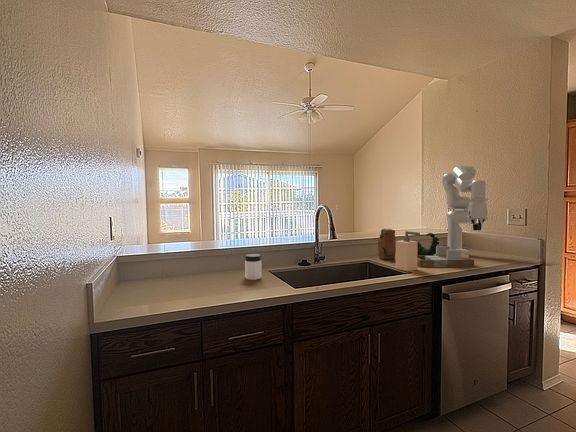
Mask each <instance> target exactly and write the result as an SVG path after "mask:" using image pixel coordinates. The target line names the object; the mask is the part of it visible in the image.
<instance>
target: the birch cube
mask: <svg viewBox="0 0 576 432" xmlns="http://www.w3.org/2000/svg"><path fill="white" fill-rule="evenodd" d="M457 250H461V258H470V257H469V256H470V250H469V249H466V248H462V249H457Z"/></svg>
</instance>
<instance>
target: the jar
mask: <svg viewBox="0 0 576 432" xmlns="http://www.w3.org/2000/svg"><path fill="white" fill-rule="evenodd" d="M262 263H263V262H262V255H261V254H260V253H249V254H245V255H244V277H245V279H246V280H247V281H248V280H251V281H256V280H260V279H262V278H263V277H262V275H263V273H262V269H263V268H262V267H263V266H262Z"/></svg>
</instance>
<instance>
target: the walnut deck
mask: <svg viewBox="0 0 576 432" xmlns="http://www.w3.org/2000/svg"><path fill="white" fill-rule="evenodd" d="M417 267H419V268H431V267H432V268H435V267H436V268H442V267H443V268H445V267H446V268H448V267H452V268H455V267H459V268H460V267H462V268H463V267H464V268H465V267H475V259H473V258H470V257H469V258H461V260H446V256H436V254H434V256H417Z"/></svg>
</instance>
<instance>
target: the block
mask: <svg viewBox="0 0 576 432" xmlns="http://www.w3.org/2000/svg"><path fill="white" fill-rule="evenodd" d="M396 241H397V240H396V231H395V230H394V229H391V228H382V229H380V235H379V236H378V241H377V253H378V254H377V255H378V257H379V259H380V260H393V259H396Z"/></svg>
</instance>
